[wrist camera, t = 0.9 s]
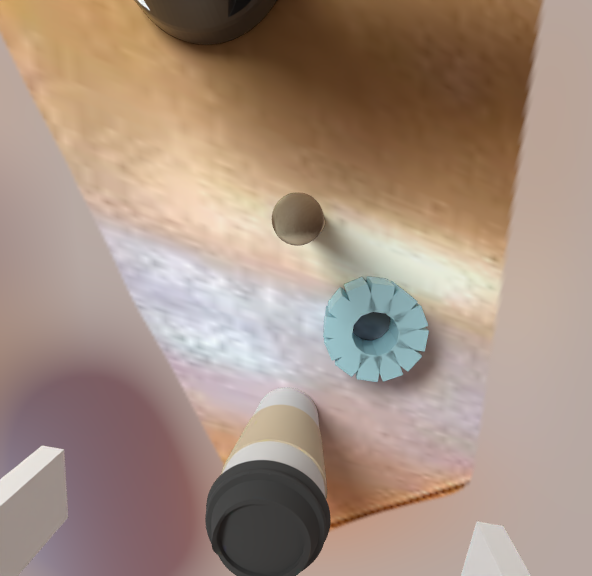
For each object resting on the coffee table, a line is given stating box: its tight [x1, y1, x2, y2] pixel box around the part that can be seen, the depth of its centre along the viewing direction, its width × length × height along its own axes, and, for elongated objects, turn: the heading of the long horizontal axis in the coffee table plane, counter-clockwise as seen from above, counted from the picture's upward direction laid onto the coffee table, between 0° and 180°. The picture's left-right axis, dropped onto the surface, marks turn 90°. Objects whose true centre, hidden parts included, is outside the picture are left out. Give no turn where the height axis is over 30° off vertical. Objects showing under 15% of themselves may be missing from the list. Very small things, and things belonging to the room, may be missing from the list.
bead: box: [323, 276, 429, 382], centre depth 31 cm, size 9×9×4 cm
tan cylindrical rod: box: [272, 193, 325, 245], centre depth 24 cm, size 2×2×16 cm
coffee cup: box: [206, 388, 330, 576], centre depth 28 cm, size 9×9×15 cm
